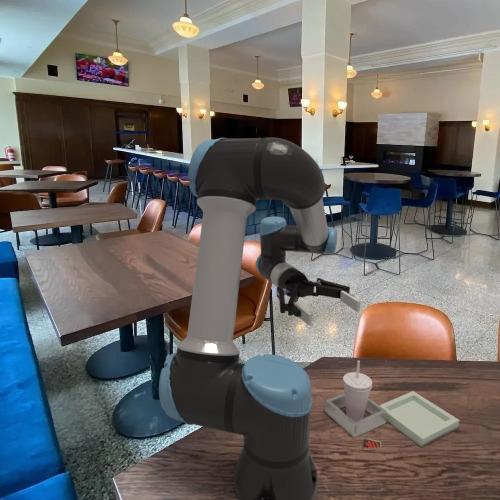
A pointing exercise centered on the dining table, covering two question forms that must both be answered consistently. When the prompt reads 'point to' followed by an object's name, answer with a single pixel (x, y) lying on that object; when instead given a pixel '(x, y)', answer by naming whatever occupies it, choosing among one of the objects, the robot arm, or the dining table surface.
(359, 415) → the smoothie
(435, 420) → the tray
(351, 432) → the square frame
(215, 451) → the dining table surface
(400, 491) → the dining table surface
